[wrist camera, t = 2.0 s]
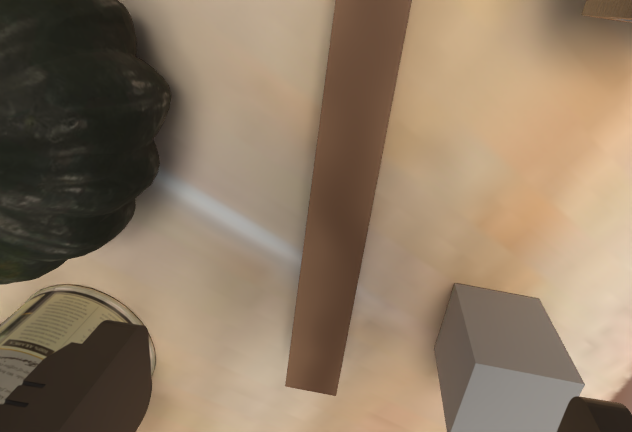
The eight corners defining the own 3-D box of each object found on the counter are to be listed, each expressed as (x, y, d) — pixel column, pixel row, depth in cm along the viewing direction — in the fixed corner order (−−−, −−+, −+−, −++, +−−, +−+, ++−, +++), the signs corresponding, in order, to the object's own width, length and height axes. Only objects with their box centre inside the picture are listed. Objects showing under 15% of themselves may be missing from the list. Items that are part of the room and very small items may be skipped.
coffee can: (143, 416, 37) (16, 639, 24) (15, 371, 36) (-184, 571, 24) (170, 314, 32) (33, 519, 19) (24, 261, 32) (-213, 433, 19)
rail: (297, 337, 32) (285, 386, 28) (361, -129, 21) (356, -160, 17) (341, 345, 32) (335, 395, 28) (429, -121, 21) (440, -150, 17)
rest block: (434, 348, 31) (448, 438, 24) (454, 283, 29) (475, 363, 22) (512, 363, 30) (547, 458, 24) (539, 298, 28) (584, 384, 22)
